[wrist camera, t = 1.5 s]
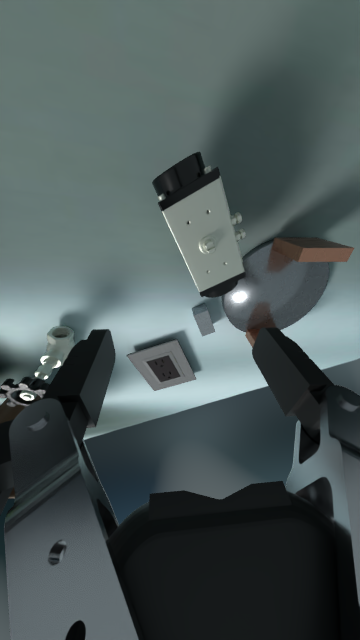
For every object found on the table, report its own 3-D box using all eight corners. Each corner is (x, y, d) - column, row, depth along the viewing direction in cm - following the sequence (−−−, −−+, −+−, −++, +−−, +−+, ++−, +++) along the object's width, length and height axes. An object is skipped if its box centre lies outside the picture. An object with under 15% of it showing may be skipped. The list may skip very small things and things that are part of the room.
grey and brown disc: (232, 235, 25) (254, 248, 19) (343, 235, 26) (399, 247, 20) (215, 331, 35) (226, 360, 29) (296, 328, 36) (324, 355, 30)
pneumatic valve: (192, 271, 27) (208, 313, 18) (154, 187, 21) (146, 179, 11) (226, 255, 26) (263, 290, 17) (196, 161, 20) (228, 126, 10)
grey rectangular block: (191, 307, 31) (193, 315, 29) (204, 302, 31) (207, 310, 29) (199, 327, 34) (202, 336, 32) (212, 323, 34) (215, 331, 32)
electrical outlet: (194, 372, 42) (196, 380, 40) (154, 383, 44) (154, 392, 42) (176, 333, 35) (177, 341, 33) (128, 348, 36) (126, 357, 34)
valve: (86, 329, 32) (52, 387, 22) (84, 353, 36) (54, 413, 26) (45, 320, 30) (-11, 379, 21) (47, 347, 34) (0, 408, 24)
